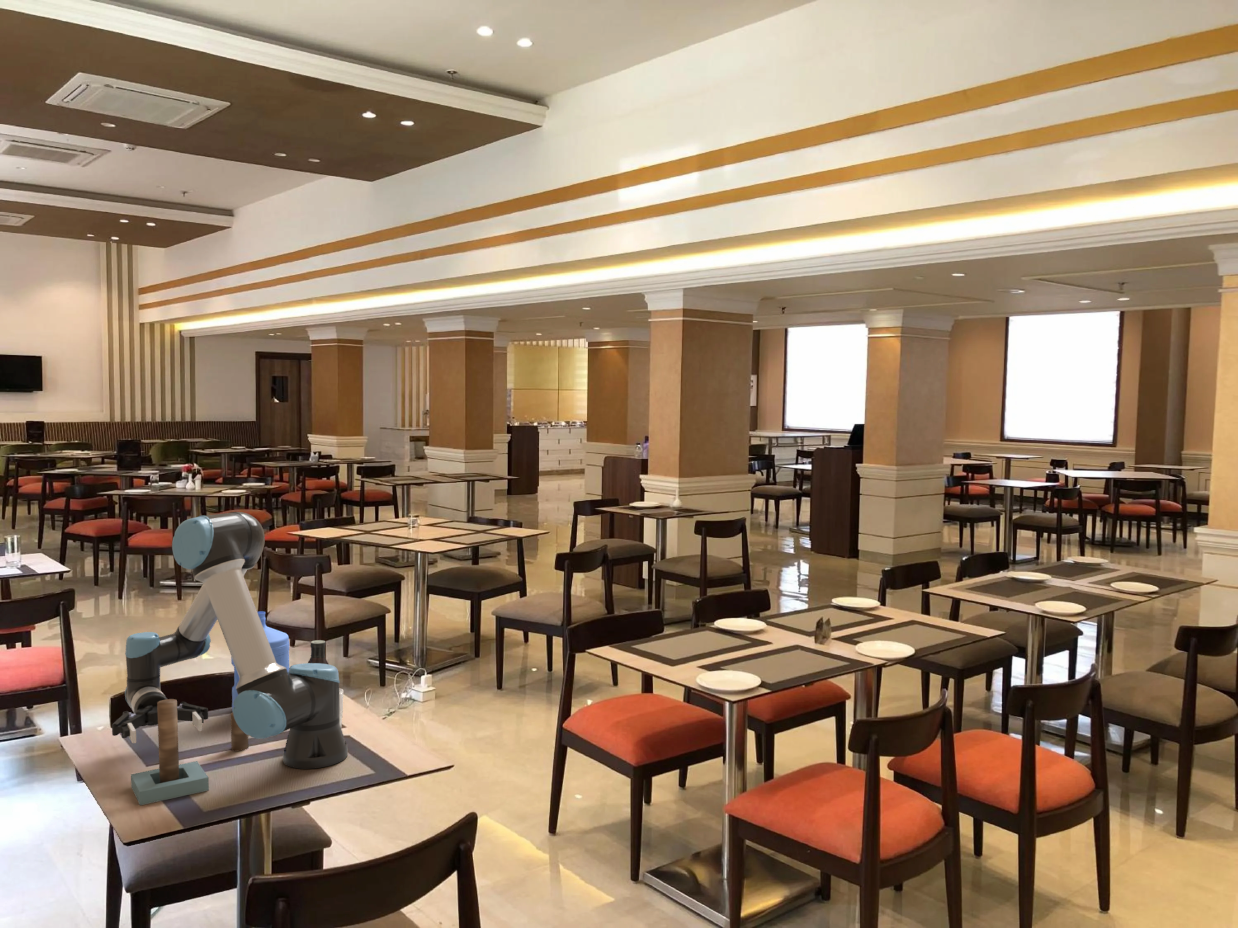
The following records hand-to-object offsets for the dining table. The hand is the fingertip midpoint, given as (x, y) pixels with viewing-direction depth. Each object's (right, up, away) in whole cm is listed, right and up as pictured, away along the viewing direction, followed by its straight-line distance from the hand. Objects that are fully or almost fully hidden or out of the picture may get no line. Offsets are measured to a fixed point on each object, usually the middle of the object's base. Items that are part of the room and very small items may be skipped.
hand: (167, 730), depth 214 cm
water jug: (0, -10, +57) cm, 58 cm away
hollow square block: (0, -14, +2) cm, 14 cm away
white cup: (+23, -11, +42) cm, 49 cm away
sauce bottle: (+16, -10, +56) cm, 60 cm away
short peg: (+5, -12, +27) cm, 30 cm away
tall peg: (0, -14, +2) cm, 14 cm away
